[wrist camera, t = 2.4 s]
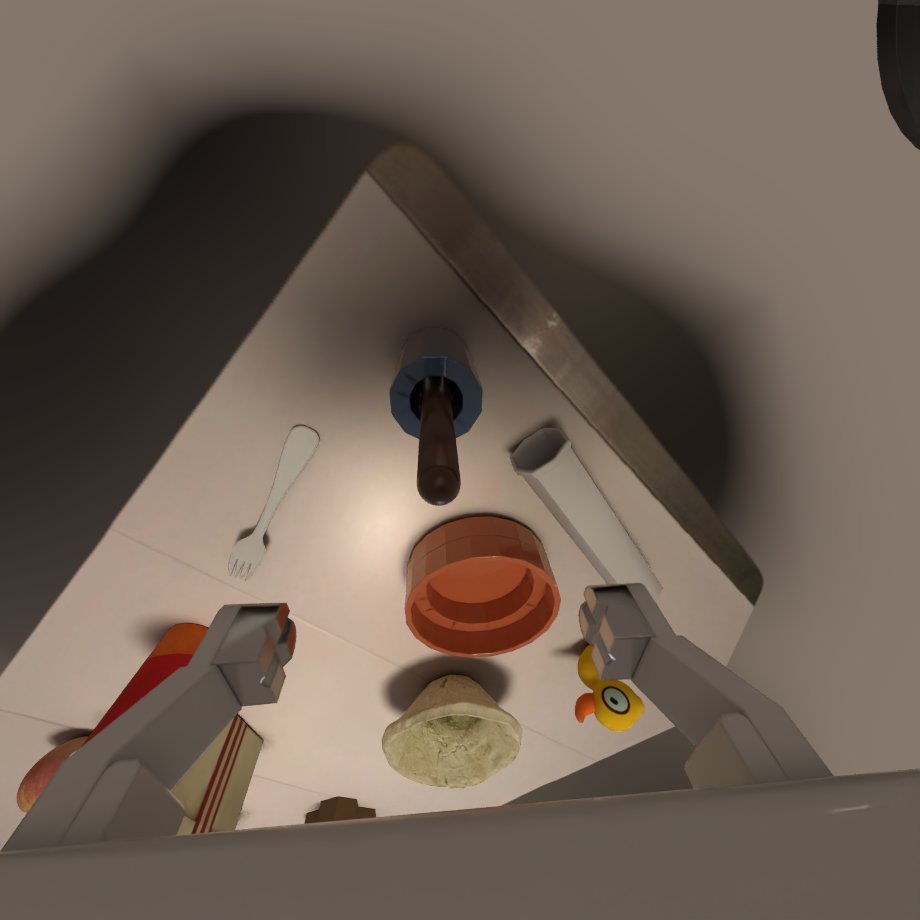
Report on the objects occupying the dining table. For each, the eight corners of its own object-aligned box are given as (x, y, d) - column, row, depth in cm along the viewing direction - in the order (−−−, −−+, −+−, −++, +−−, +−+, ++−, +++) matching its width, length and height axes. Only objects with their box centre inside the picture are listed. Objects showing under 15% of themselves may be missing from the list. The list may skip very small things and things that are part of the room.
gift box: (193, 764, 62) (119, 930, 47) (112, 712, 52) (-14, 899, 38) (289, 745, 60) (243, 909, 46) (223, 687, 51) (138, 872, 36)
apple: (44, 738, 55) (-12, 810, 48) (84, 720, 53) (32, 792, 46) (100, 759, 59) (56, 828, 52) (139, 743, 57) (99, 812, 50)
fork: (330, 425, 34) (324, 437, 32) (251, 582, 41) (241, 601, 38) (300, 411, 33) (291, 421, 31) (224, 573, 40) (212, 593, 37)
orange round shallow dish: (552, 510, 38) (571, 552, 33) (536, 606, 46) (549, 653, 41) (403, 515, 37) (399, 560, 32) (412, 613, 45) (410, 661, 40)
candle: (301, 798, 72) (272, 921, 59) (373, 794, 73) (360, 914, 60) (310, 823, 79) (286, 938, 66) (376, 819, 80) (365, 931, 67)
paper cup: (208, 663, 48) (134, 806, 36) (146, 639, 45) (42, 788, 33) (240, 634, 45) (172, 778, 33) (177, 607, 42) (76, 755, 30)
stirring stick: (446, 353, 29) (462, 476, 14) (447, 376, 30) (461, 513, 15) (423, 353, 29) (414, 478, 14) (424, 376, 29) (417, 515, 15)
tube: (680, 596, 41) (580, 436, 29) (644, 629, 40) (529, 482, 29) (643, 567, 45) (544, 420, 34) (611, 597, 45) (500, 459, 34)
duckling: (555, 661, 53) (578, 743, 44) (557, 638, 50) (583, 721, 41) (634, 653, 53) (673, 733, 44) (641, 629, 50) (684, 711, 42)
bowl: (429, 685, 62) (354, 738, 51) (493, 635, 53) (421, 685, 42) (476, 776, 56) (404, 859, 45) (557, 735, 48) (493, 825, 36)
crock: (471, 326, 28) (483, 355, 21) (469, 395, 31) (480, 441, 24) (397, 326, 28) (385, 356, 21) (402, 397, 31) (394, 443, 24)
